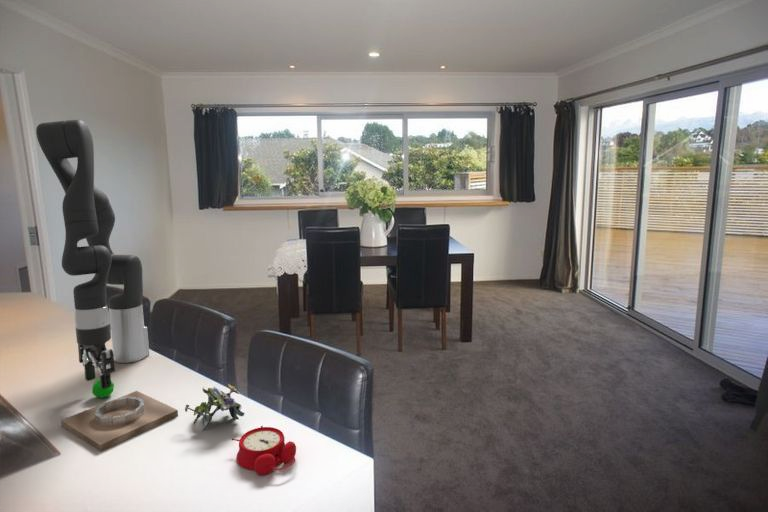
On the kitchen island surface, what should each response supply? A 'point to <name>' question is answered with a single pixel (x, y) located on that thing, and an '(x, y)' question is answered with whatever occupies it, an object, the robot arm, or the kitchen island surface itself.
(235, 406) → the grey green plastic figure
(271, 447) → the alarm clock
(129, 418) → the steel ring
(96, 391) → the polyhedron
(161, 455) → the kitchen island surface
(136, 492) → the kitchen island surface
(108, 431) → the walnut board
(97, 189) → the robot arm
